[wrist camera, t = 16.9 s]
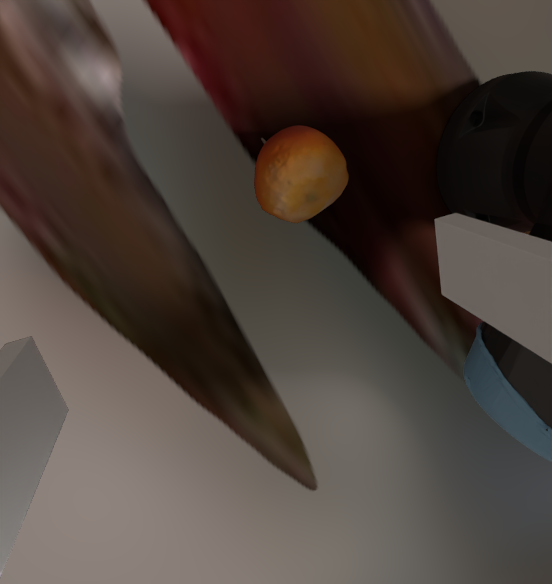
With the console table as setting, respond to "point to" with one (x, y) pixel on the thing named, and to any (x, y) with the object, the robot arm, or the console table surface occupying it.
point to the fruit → (299, 173)
